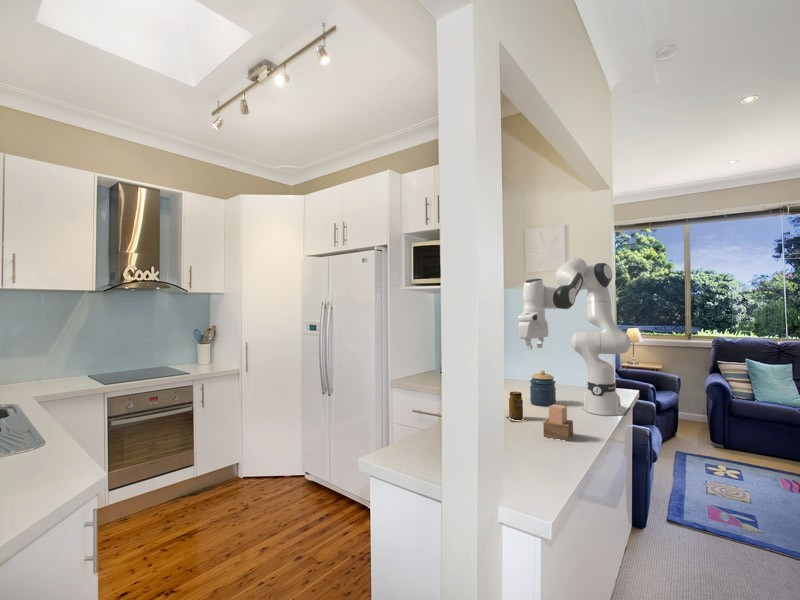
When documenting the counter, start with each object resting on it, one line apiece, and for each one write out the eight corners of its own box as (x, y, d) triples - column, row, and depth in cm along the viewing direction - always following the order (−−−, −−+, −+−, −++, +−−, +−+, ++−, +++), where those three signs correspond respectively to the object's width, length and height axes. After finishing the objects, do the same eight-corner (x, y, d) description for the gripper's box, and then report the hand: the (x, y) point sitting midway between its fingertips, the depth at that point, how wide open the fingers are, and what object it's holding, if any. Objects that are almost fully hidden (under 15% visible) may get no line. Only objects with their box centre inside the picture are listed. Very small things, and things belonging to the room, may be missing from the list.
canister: (561, 404, 205) (560, 370, 205) (546, 408, 197) (545, 373, 198) (540, 399, 215) (539, 367, 216) (524, 403, 208) (524, 370, 209)
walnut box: (549, 431, 160) (549, 417, 160) (573, 435, 155) (572, 420, 155) (543, 437, 152) (543, 422, 153) (568, 442, 147) (567, 426, 147)
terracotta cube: (554, 419, 157) (554, 404, 157) (567, 421, 153) (566, 406, 153) (549, 421, 153) (548, 406, 153) (562, 424, 150) (561, 408, 150)
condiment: (521, 416, 182) (520, 390, 183) (527, 421, 174) (527, 394, 174) (505, 416, 182) (505, 391, 182) (511, 422, 174) (510, 395, 174)
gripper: (538, 316, 177) (538, 346, 176) (515, 316, 162) (516, 350, 162) (551, 316, 172) (552, 347, 172) (529, 316, 158) (530, 351, 158)
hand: (534, 348), depth 167 cm, fingers open, 8 cm apart
